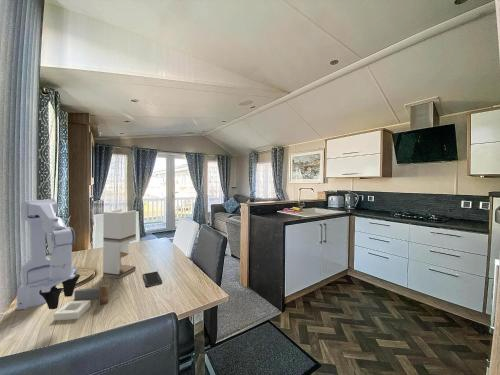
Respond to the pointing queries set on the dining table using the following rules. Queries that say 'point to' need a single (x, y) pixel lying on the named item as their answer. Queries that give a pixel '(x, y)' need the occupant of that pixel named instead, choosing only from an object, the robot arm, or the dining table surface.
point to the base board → (86, 293)
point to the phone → (152, 279)
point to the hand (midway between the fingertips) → (61, 302)
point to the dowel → (103, 294)
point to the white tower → (117, 241)
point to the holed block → (72, 310)
